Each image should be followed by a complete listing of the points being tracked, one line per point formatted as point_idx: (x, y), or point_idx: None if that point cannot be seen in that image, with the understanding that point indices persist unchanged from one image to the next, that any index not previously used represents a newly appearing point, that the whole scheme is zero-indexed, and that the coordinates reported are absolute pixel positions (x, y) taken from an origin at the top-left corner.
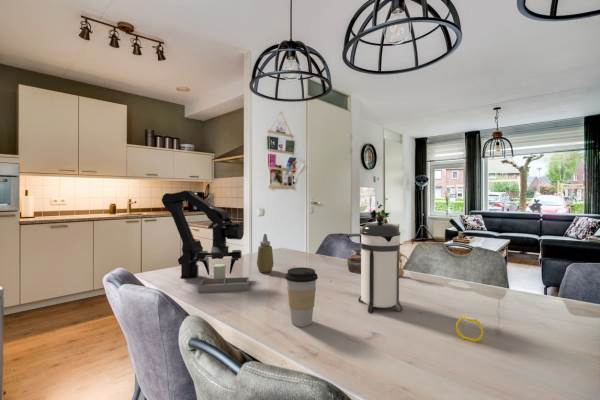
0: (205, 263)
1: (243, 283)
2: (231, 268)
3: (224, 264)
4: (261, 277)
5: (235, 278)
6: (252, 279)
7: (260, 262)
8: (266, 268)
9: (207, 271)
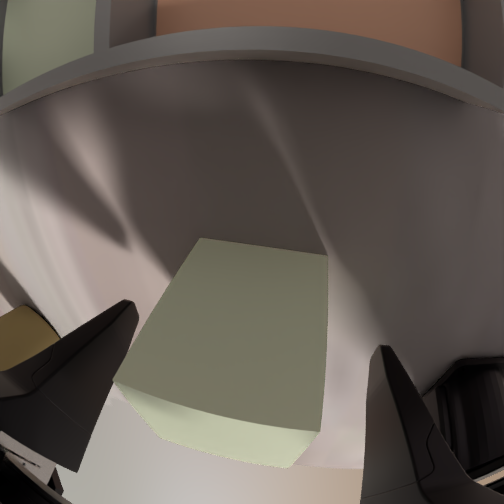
0: (446, 484)
1: (15, 62)
2: (75, 336)
3: (163, 434)
4: (4, 236)
5: (22, 85)
6: (16, 205)
7: (7, 353)
8: (8, 315)
9: (403, 378)
